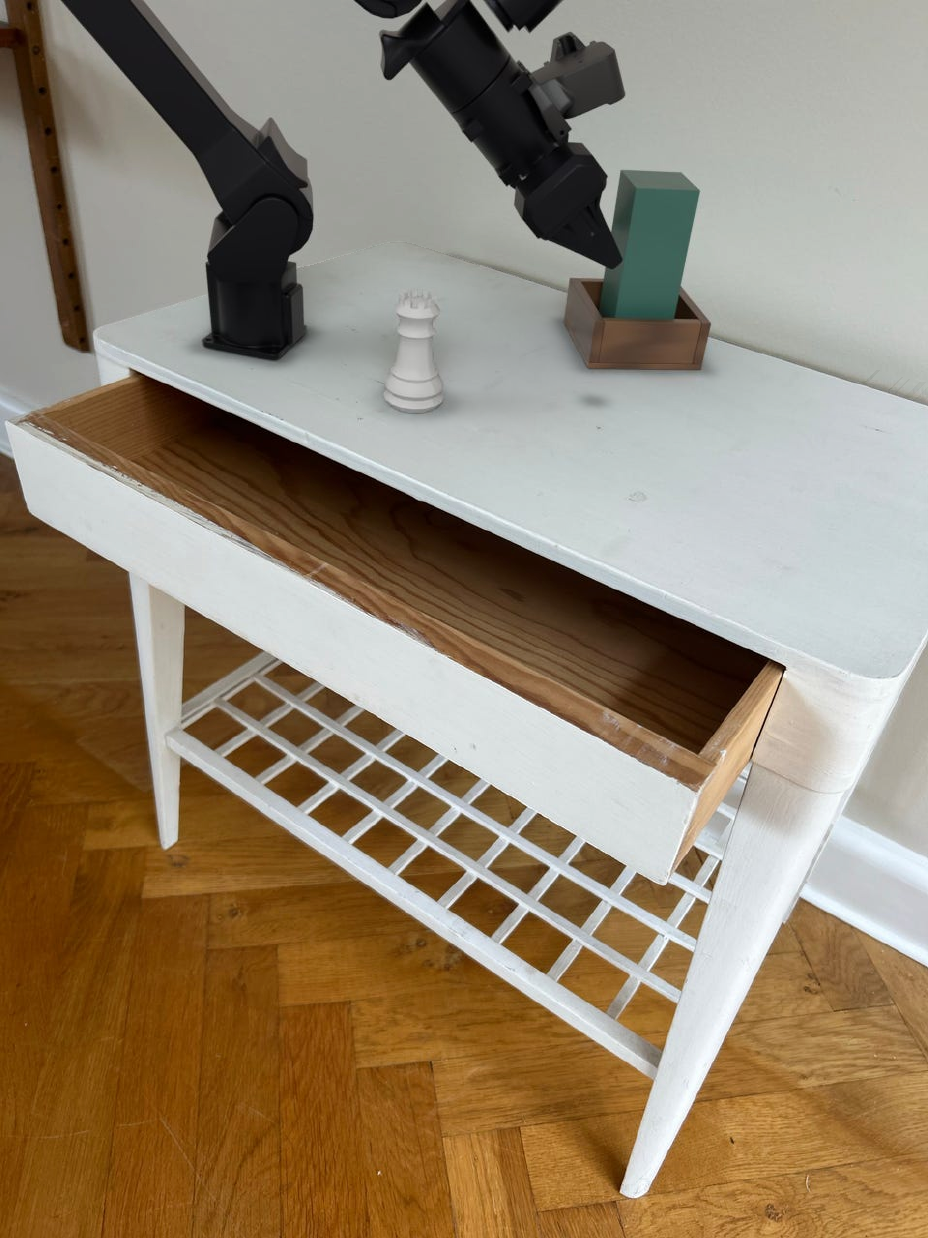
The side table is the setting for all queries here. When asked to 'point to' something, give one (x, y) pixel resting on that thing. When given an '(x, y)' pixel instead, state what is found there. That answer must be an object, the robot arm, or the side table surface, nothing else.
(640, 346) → the walnut holder
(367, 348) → the side table surface
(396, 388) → the rook chess piece
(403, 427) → the side table surface
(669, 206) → the box
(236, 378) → the side table surface
